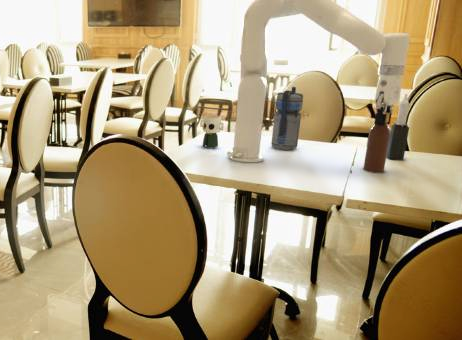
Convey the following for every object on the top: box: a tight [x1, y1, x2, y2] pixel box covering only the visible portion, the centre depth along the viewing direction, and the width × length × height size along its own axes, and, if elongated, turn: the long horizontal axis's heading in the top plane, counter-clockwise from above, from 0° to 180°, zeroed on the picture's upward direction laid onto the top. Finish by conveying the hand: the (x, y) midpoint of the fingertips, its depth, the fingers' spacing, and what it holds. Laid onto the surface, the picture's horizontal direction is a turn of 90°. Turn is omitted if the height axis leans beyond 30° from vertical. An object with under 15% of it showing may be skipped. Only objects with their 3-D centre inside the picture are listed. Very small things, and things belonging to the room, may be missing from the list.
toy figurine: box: [199, 114, 225, 149], centre depth 212 cm, size 11×7×13 cm, turn 45°
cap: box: [385, 112, 390, 123], centre depth 177 cm, size 4×4×3 cm
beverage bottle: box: [270, 86, 304, 151], centre depth 210 cm, size 10×13×25 cm
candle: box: [386, 93, 410, 161], centre depth 196 cm, size 5×5×25 cm
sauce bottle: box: [362, 123, 391, 174], centre depth 180 cm, size 6×6×20 cm
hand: (382, 123), depth 178 cm, fingers closed on cap, 3 cm apart
